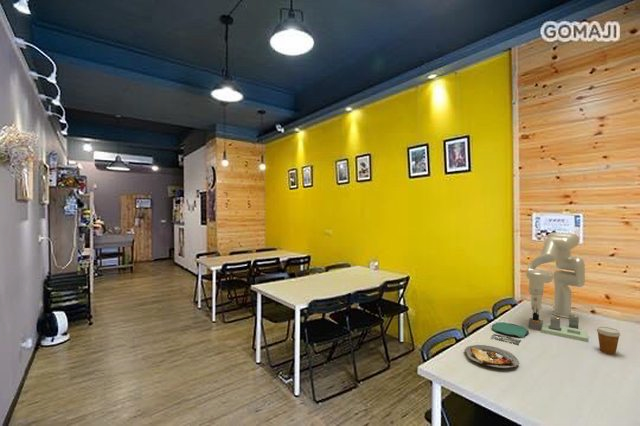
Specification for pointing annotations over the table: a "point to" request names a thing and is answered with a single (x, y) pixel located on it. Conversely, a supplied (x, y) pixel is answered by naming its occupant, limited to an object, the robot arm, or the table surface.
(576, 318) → the knobbed taupe block
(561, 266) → the robot arm
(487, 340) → the table surface
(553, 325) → the seated billet
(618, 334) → the disposable coffee cup
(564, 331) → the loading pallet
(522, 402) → the table surface
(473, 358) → the food plate
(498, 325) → the green-topped navy dish
